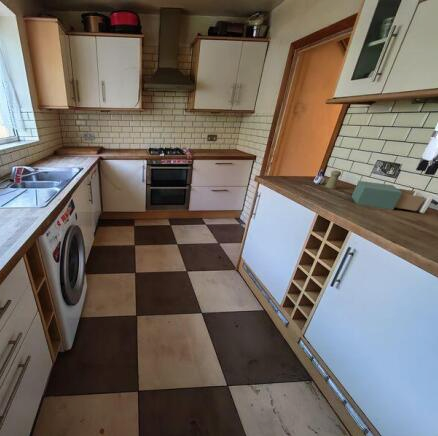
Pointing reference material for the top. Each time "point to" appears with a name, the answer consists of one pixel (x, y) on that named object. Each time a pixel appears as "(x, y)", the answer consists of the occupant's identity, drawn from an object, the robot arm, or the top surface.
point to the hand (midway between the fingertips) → (424, 172)
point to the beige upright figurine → (333, 179)
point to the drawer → (414, 201)
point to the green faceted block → (376, 195)
